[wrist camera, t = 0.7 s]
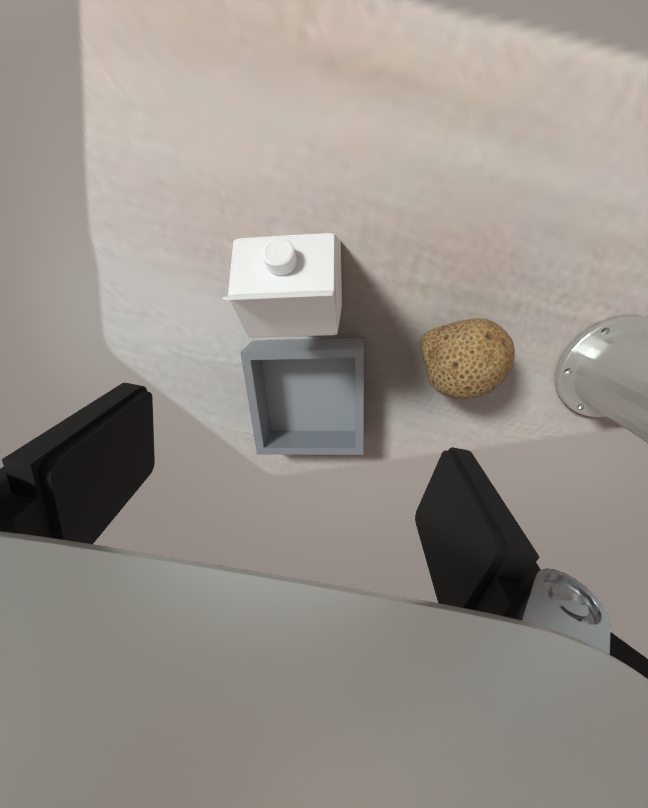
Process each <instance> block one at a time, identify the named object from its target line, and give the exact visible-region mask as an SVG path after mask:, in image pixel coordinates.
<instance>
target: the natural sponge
mask: <svg viewBox="0 0 648 808" xmlns="http://www.w3.org/2000/svg"><path fill="white" fill-rule="evenodd" d="M420 345H421V352H422V357H423V360H424V363H425V367H426V372H427V376H428V379H429V381H430V383H431V385H432V386H433V387H434V388H435V389H436V390H437V391H438V392H440V393H442V394H444V395H446V396H449V397H452V398H461V399H467V398H475V397H479V396H482V395H484V394H486V393H488V392H490V391H492V390H493V389H494V388H495V387H496V386H498V385H499V384H500V383H501V382H502V381H503V380H504V379H505V378H506V376H507V375H508V374H509V372H510V370H511V367H512V364H513V360H514V344H513V341H512V339H511V337H510V336H509V335H508V333H507V332H506V331H505V330H504V329H503V328H502V327H501V326H499V325H498V324H496V323H494V322H492V321H490V320H487V319H479V318H476V319H468V320H463V321H459V322H455V323H451V324H448V325H444V326H441V327H437V328H434V329H432V330H430V331H428V332H427V333H425V334H424V335H423V337H422V338H421V344H420Z"/></svg>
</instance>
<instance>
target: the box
mask: <svg viewBox="0 0 648 808" xmlns="http://www.w3.org/2000/svg"><path fill="white" fill-rule="evenodd" d="M241 357H242V363H243V369H244V376H245V382H246V388H247V394H248V401H249V407H250V413H251V419H252V425H253V432H254V438H255V444H256V450H257V454H283V455H363V431H364V345H363V338H336V339H300V340H263V341H252V342H251V343H250V344H249V345H248V346H246V347H245V348H244V349H243V350H242V351H241Z"/></svg>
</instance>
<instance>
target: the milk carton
mask: <svg viewBox="0 0 648 808" xmlns="http://www.w3.org/2000/svg"><path fill="white" fill-rule="evenodd" d="M223 300H230V301H231V303H232V305H233V307H234V309H235V311H236V313H237V315H238V317H239V319H240V321H241V323H242V325H243V327H244V329H245V331H246V333H247V335H248V337H252V338H255V337H288V336H319V335H337V332H338V327H339V321H340V315H341V309H342V277H341V240H340V239H339V238H338V237H337V236H336V235H335V234H333V233H320V234H302V235H286V236H270V237H253V238H241V239H236V240H234V244H233V253H232V263H231V273H230V282H229V292H228V296H225V297H223Z"/></svg>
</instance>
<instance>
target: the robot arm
mask: <svg viewBox="0 0 648 808" xmlns="http://www.w3.org/2000/svg"><path fill="white" fill-rule="evenodd" d="M555 384H556V390H557V393H558V395H559V397H560V398H561V400H562V401H563V403H564V404H566V405H567V406H568V407H569V408H571V409H572V410H574V411H575V412H577V413H579V414H582V415H585V416H590V417H609V418H610V419H612V420H614V421H615V422H617V423H618V424H620V425H621V426H623V427H624V428H626V429H627V430H629V431H630V432H632V433H633V434H635V435H637V436H638V437H640V438H641V439H643V440H644V441H646V442H647V443H648V317H643V316H637V315H632V316H621V317H616V318H612V319H609V320H606V321H604V322H601V323H599V324H597V325H595V326H593V327H591V328H590V329H588V330H587V331H586V332H584V333H583V334H581V335H580V336H579V337H578V338H577V339H576V340H575V341H574V342H573V343H572V344H571V345H570V346H569V348H568V349H567V350H566V351H565V353H564V354H563V356H562V358H561V360H560V362H559V365H558V368H557V371H556V378H555ZM152 405H153V403H152V394H151V393H150V392H147V389H146V387H144V386H140V385H134V384H130V383H122V384H120V385H119V386H117V387H116V388H114V389H112V390H111V391H109V392H108V393H106V394H105V395H103V396H101V397H100V398H98V399H97V400H95V401H93V402H92V403H90V404H89V405H87V406H86V407H84V408H82V409H81V410H79V411H78V412H76V413H74V414H73V415H71V416H70V417H68V418H67V419H65V420H64V421H62V422H60V423H59V424H57V425H55V426H54V427H52V428H51V429H49V430H48V431H46V432H44V433H43V434H41V435H40V436H38V437H36V438H35V439H33V440H32V441H30V442H29V443H27V444H25V445H24V446H22V447H21V448H19V449H18V450H16V451H14V452H13V453H11V454H10V455H8V456H6V457H5V458H3V459H2V462H3V465H4V467H2V468H1V469H0V808H648V659H647V658H646V657H644V656H643V655H641V654H640V653H639V652H637V651H636V650H634V649H633V648H632V647H630V646H629V645H628V644H626V643H625V642H624V641H622V640H621V639H619V638H618V637H617V636H615V635H614V634H613V633H611V632H610V626H611V624H610V619H609V615H608V613H607V611H606V609H605V607H604V605H603V604H602V603H601V602H600V601H599V599H598V598H597V597H596V596H595V595H594V594H593V593H592V592H591V591H590V590H589V589H588V588H587V587H586V586H584V585H583V584H582V583H580V582H579V581H578V580H576V579H575V578H573V577H571V576H569V575H567V574H566V573H564V572H560V571H558V570H555V569H547V568H546V569H542V570H540V568H539V566H538V565H537V563H536V561H537V560H538V558H539V556H538V554H537V552H536V551H535V549H534V548H533V546H532V545H531V543H530V542H529V540H528V538H527V537H526V535H525V534H524V532H523V531H522V529H521V528H520V526H519V525H518V523H517V522H516V520H515V518H514V517H513V515H512V514H511V512H510V511H509V509H508V508H507V506H506V505H505V503H504V502H503V500H502V499H501V497H500V495H499V494H498V493H497V491H496V489H495V488H494V486H493V485H492V483H491V482H490V480H489V479H488V477H487V476H486V474H485V472H484V471H483V469H482V468H481V466H480V465H479V463H478V462H477V460H476V459H475V457H474V456H473V454H472V453H471V452H470V451H468V450H463V449H458V448H453V447H452V448H450V449H449V450H448V451H446V450H445V451H444V452H443V453H442V454H441V457H440V459H439V461H438V463H437V466H436V468H435V470H434V472H433V475H432V477H431V480H430V482H429V484H428V486H427V488H426V491H425V493H424V495H423V497H422V500H421V502H420V504H419V506H418V509H417V511H416V515H415V522H416V526H417V529H418V533H419V536H420V540H421V543H422V547H423V551H424V554H425V558H426V561H427V565H428V568H429V571H430V575H431V579H432V582H433V586H434V589H435V593H436V597H437V600H438V603H434V602H429V601H423V600H417V599H412V598H406V597H400V596H395V595H389V594H383V593H378V592H372V591H366V590H361V589H355V588H349V587H344V586H338V585H332V584H327V583H321V582H315V581H309V580H303V579H297V578H291V577H285V576H280V575H274V574H267V573H262V572H257V571H251V570H244V569H239V568H233V567H227V566H221V565H215V564H209V563H203V562H197V561H191V560H185V559H179V558H173V557H166V556H161V555H155V554H149V553H143V552H136V551H131V550H124V549H118V548H112V547H106V546H100V545H94V544H93V543H94V542H95V541H96V539H97V538H98V537H99V536H100V535H101V533H102V532H103V531H104V530H105V528H106V527H107V526H108V525H109V524H110V523H111V521H112V520H113V519H114V518H115V516H116V515H117V514H118V513H119V512H120V510H121V509H122V508H123V507H124V505H125V504H126V503H127V502H128V500H129V499H130V498H131V497H132V496H133V495H134V493H135V492H136V491H137V490H138V489H139V487H140V486H141V485H142V484H143V483H144V481H145V480H146V479H147V478H148V476H149V475H150V474H151V472H152V470H153V468H154V461H155V460H154V433H153V432H154V431H153V406H152Z"/></svg>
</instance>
